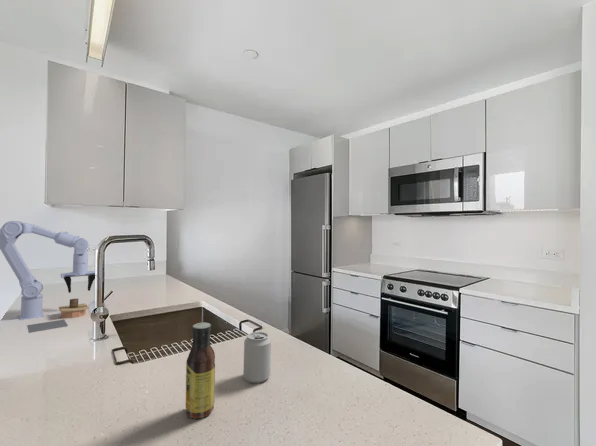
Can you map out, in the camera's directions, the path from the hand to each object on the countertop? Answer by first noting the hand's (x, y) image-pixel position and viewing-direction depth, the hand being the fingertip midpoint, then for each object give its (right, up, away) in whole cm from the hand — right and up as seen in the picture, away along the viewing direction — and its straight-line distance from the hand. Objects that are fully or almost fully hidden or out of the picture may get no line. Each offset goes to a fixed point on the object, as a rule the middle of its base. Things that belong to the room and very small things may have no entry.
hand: (79, 291), depth 145 cm
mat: (+3, -10, -22) cm, 24 cm away
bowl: (+3, -10, -7) cm, 12 cm away
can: (+95, -11, -61) cm, 113 cm away
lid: (+3, -6, -7) cm, 10 cm away
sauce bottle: (+84, -10, -77) cm, 115 cm away
